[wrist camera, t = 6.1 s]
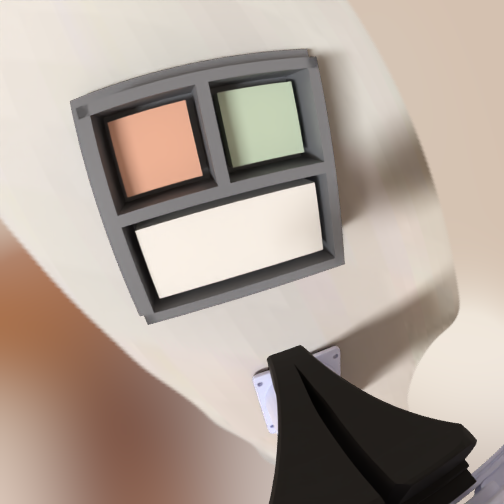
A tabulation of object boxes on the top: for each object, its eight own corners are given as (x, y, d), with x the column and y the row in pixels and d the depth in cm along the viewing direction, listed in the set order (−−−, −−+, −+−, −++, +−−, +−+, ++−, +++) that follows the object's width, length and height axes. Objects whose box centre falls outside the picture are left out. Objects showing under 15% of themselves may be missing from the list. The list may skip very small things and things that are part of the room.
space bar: (312, 240, 19) (323, 249, 18) (159, 285, 18) (159, 298, 16) (303, 178, 18) (314, 182, 16) (137, 222, 16) (135, 231, 15)
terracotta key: (199, 171, 17) (202, 175, 15) (130, 192, 16) (127, 197, 15) (183, 103, 15) (185, 99, 14) (112, 123, 14) (107, 122, 13)
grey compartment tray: (331, 251, 22) (360, 274, 19) (140, 308, 20) (137, 344, 16) (300, 52, 16) (330, 37, 13) (74, 102, 14) (51, 95, 11)
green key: (293, 150, 18) (304, 152, 16) (227, 164, 17) (232, 167, 16) (281, 85, 16) (290, 81, 15) (212, 96, 15) (216, 93, 14)
